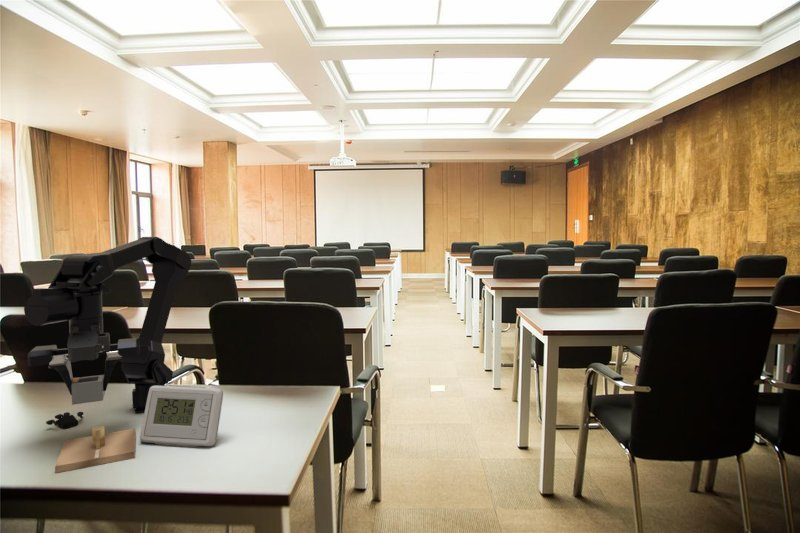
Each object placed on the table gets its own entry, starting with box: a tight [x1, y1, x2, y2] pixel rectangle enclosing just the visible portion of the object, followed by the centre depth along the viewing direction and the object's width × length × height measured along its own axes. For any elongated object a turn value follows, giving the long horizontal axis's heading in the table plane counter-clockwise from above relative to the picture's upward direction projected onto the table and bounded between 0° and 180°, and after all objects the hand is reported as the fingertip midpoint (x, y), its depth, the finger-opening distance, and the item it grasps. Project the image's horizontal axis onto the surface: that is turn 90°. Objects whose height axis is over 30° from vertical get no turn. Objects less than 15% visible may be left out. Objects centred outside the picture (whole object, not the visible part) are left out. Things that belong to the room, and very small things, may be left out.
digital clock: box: [139, 384, 224, 448], centre depth 95 cm, size 16×9×11 cm, turn 71°
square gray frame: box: [71, 374, 106, 406], centre depth 97 cm, size 5×5×5 cm
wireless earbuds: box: [45, 411, 85, 430], centre depth 103 cm, size 7×2×5 cm
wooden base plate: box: [54, 425, 137, 474], centre depth 90 cm, size 12×12×5 cm
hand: (88, 392), depth 97 cm, fingers closed on square gray frame, 5 cm apart
